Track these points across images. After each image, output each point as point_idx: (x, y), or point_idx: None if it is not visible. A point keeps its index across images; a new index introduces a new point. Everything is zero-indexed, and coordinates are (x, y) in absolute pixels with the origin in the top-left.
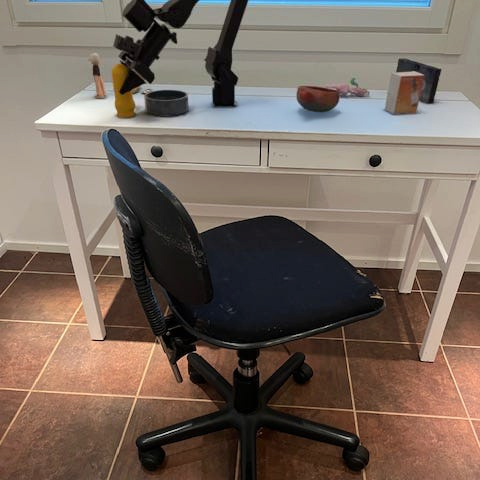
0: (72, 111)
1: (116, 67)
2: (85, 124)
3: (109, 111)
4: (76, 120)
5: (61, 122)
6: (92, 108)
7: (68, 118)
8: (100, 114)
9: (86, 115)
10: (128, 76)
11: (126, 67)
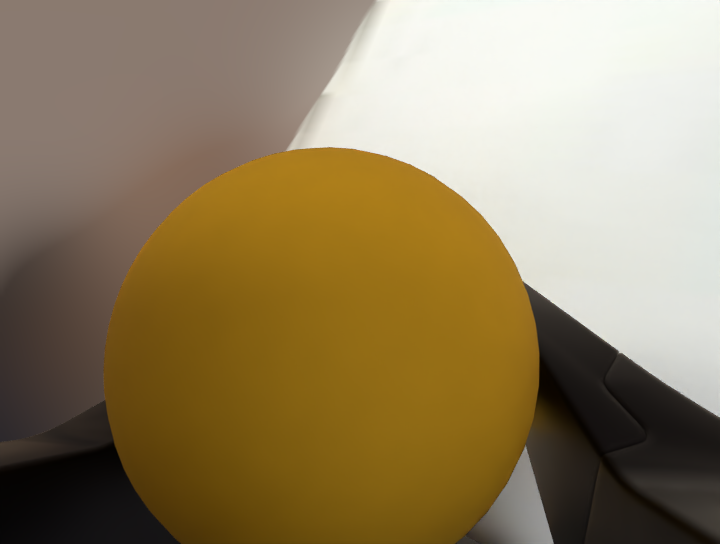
0: (641, 27)
1: (170, 219)
2: (330, 119)
3: (570, 259)
4: (418, 72)
5: (407, 10)
6: (705, 146)
7: (472, 29)
8: (504, 195)
9: (507, 115)
10: (67, 421)
11: (173, 531)
